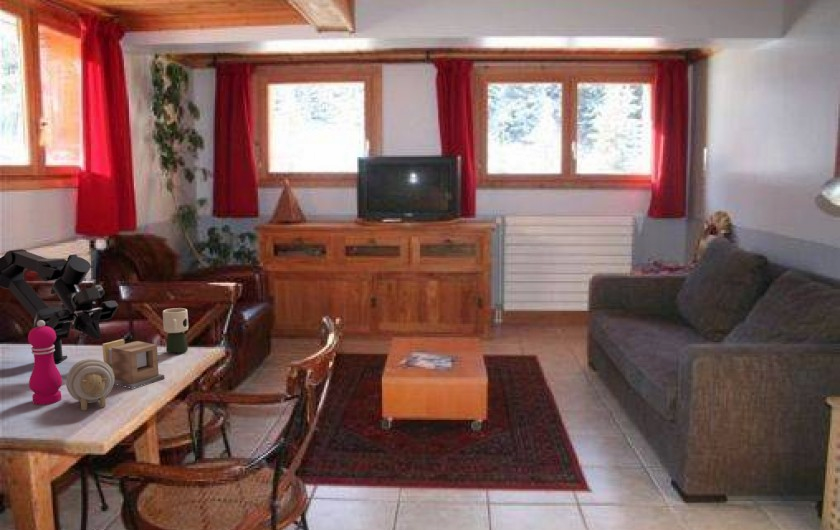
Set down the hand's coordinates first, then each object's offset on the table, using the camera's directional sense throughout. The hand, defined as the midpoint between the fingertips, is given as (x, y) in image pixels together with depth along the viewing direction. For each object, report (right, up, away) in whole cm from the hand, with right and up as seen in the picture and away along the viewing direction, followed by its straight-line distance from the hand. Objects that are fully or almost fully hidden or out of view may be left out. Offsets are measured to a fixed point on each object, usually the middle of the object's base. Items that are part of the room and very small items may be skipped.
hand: (99, 338), depth 199 cm
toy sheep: (+9, -13, -24) cm, 29 cm away
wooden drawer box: (+9, -10, -4) cm, 14 cm away
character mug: (+14, -7, +22) cm, 27 cm away
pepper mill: (-3, -13, -21) cm, 25 cm away
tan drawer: (+9, -8, -5) cm, 13 cm away
